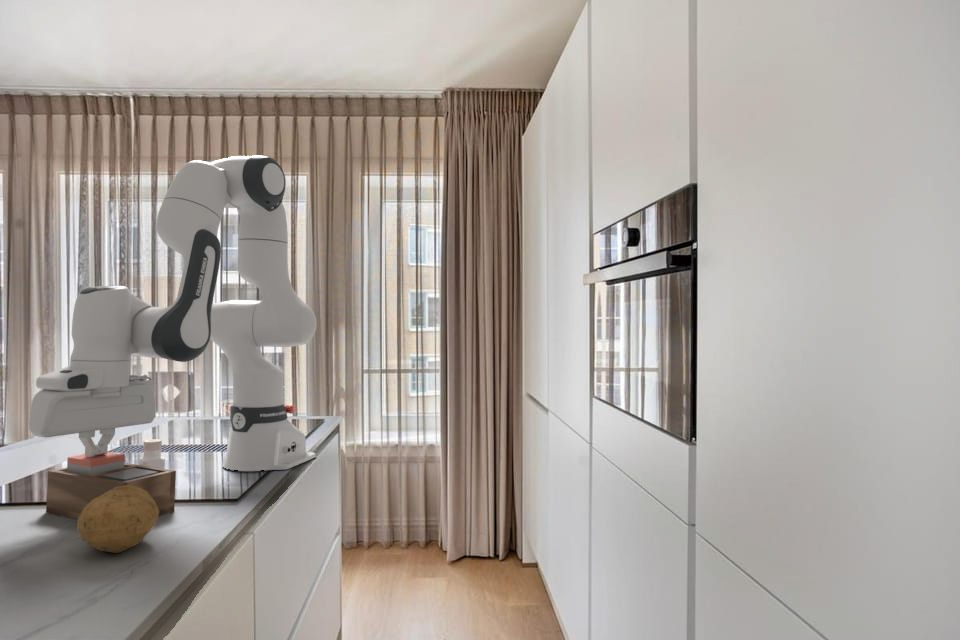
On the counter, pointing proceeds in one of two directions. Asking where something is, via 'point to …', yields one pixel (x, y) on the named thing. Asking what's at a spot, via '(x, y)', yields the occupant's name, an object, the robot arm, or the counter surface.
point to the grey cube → (128, 474)
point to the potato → (118, 519)
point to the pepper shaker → (152, 454)
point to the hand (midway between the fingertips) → (96, 455)
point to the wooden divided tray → (105, 489)
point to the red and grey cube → (95, 463)
